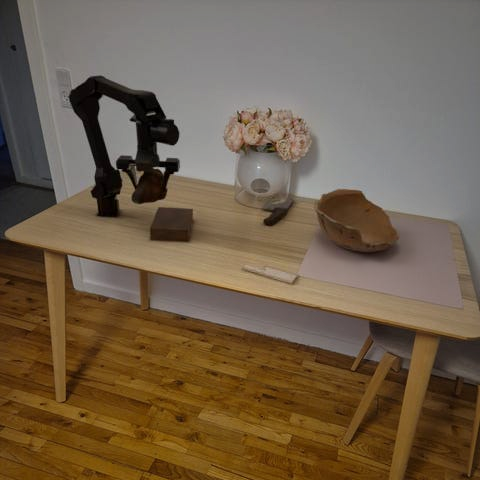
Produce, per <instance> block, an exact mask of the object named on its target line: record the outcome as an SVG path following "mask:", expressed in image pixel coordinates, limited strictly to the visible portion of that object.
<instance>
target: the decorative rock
mask: <svg viewBox="0 0 480 480" xmlns="http://www.w3.org/2000/svg"><path fill="white" fill-rule="evenodd" d="M163 185H164V172H162V170H160V169H159V168H154V167H153V171H152V172H146V171H143V173H142V174H141V175H140V176H139V178H138V180H137V187H136V190H135V189H134V191H133V192H132V194H131V202H132V203H133V204H135V205H143V204H151V203H157V202H158V201H162V200H165V199H166V197H167V195H168V186H167V187H166V191H165V192H164V190H163Z"/></svg>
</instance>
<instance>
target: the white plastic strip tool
mask: <svg viewBox="0 0 480 480" xmlns="http://www.w3.org/2000/svg"><path fill="white" fill-rule="evenodd" d="M243 270H244V271H247V272H251V273H254V274H258V275H261V276H264V277H267V278H270V279H275V280H278V281H280V282H284V283H288V284H293V283H294V282H295V281H296V279H297V278H298V277H299V275H297V274H293V273H289V272H286V271H283V270H279V269H276V268H272V267H269V266H265V267H263V269H261V268H257V267H254V266H251V265H248V264H245V265H244V266H243Z"/></svg>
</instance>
